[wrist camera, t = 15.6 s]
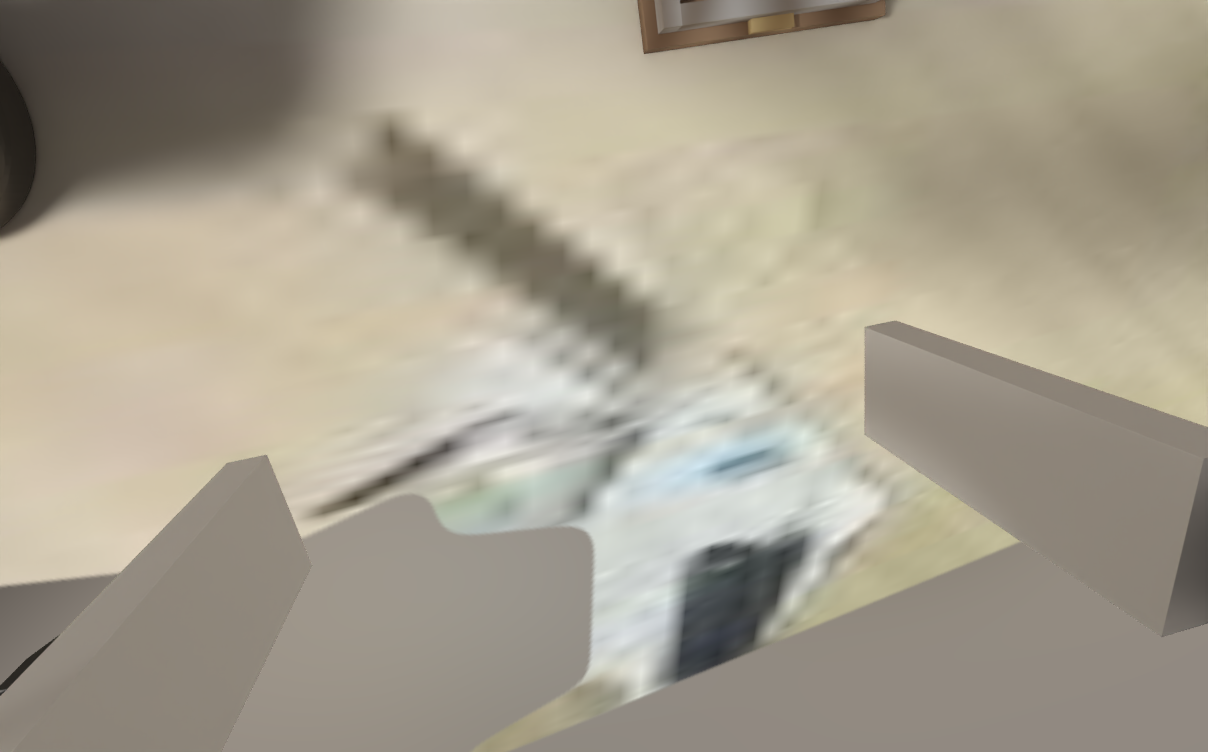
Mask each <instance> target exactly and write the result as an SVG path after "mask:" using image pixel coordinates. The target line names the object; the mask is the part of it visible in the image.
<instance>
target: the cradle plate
mask: <svg viewBox="0 0 1208 752" xmlns="http://www.w3.org/2000/svg"><path fill="white" fill-rule="evenodd" d="M638 8H639V17H640V25H641V33H642V42H643V50H644V54H646V53H653V52H659V51H666V50H673V49H680V48H686V47H693V46H700V45H707V44H713V43H720V42H727V41H734V40H740V39H747V38H754V37H761V36H767V35H774V34H781V33H788V32H794V31H801V30H808V29H815V28H821V27H828V26H835V25H842V24H848V23H855V22H862V21H869V20H875V19H877V18H879V17H881V16H883V15H885V0H638Z"/></svg>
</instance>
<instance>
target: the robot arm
mask: <svg viewBox="0 0 1208 752" xmlns="http://www.w3.org/2000/svg"><path fill="white" fill-rule="evenodd" d="M34 169H35V140H34V134H33V128H32V125H31V121H30V117H29V114H28V111H27V108H26V106H25V103H24V101H23V99H22V96H21V94H20V92H19V90H18V88H17V86H16V85H15V83H14V81H13V79H12V78H11V76H10V75H9V73H8V72H7V70H6V68H5V67H4V66H3V64H2V63H1V62H0V228H1V227H2V226H3V225H5V224H6V223H7V222H8V221H9V220H10V219H11V218H12V217H13V216H14V215H15V214H16V212H17V211H18V210H19V208H20V207H21V205H22V204H23V202H24V200H25V198H26V196H27V194H28V192H29V189H30V186H31V183H32V179H33V175H34ZM865 435H866V436H867V437H869V438H870V439H872V440H873V441H874V442H876V443H877V444H879V445H880V446H882V447H883V448H885V449H886V450H888V451H889V452H891V453H892V454H894V455H895V456H896V457H898V458H899V459H901V460H902V461H904V462H905V463H907V464H908V465H910V466H911V467H913V468H914V469H916V470H917V471H918V472H920V473H921V474H923V475H924V476H926V477H927V478H929V479H930V480H932V481H933V482H935V483H936V484H938V485H939V486H940V487H942V488H943V489H945V490H946V491H948V492H949V493H951V494H952V495H954V496H955V497H957V498H958V499H960V500H961V501H962V502H964V503H965V504H967V505H968V506H970V507H971V508H973V509H974V510H976V511H977V512H979V513H980V514H981V515H983V516H984V517H986V518H987V519H989V520H990V521H992V522H993V523H995V524H996V525H998V526H999V527H1001V528H1002V529H1003V530H1005V531H1006V532H1008V533H1009V534H1011V535H1012V536H1014V537H1015V538H1017V539H1018V540H1020V541H1021V542H1023V543H1024V544H1025V545H1027V546H1028V547H1030V548H1031V549H1033V550H1034V551H1036V552H1037V553H1039V554H1040V555H1042V556H1043V557H1045V558H1046V559H1048V560H1049V561H1051V562H1052V563H1053V564H1055V565H1056V566H1058V567H1059V568H1061V569H1062V570H1064V571H1065V572H1066V573H1068V574H1069V575H1071V576H1073V577H1074V578H1075V579H1077V580H1078V581H1080V582H1081V583H1083V584H1084V585H1086V586H1087V587H1088V588H1090V589H1091V590H1093V591H1094V592H1096V593H1097V594H1099V595H1100V596H1102V597H1103V598H1105V599H1106V600H1108V601H1109V602H1110V603H1112V604H1113V605H1115V606H1116V607H1118V608H1119V609H1121V610H1122V611H1124V612H1125V613H1127V614H1128V615H1130V616H1131V617H1133V618H1134V619H1135V620H1137V621H1138V622H1140V623H1141V624H1143V625H1144V626H1146V627H1147V628H1149V629H1150V630H1152V631H1153V632H1154V633H1156V634H1157V635H1159V636H1160V637H1164V636H1167V635H1171V634H1174V633H1177V632H1181V631H1184V630H1187V629H1190V628H1194V627H1197V626H1201V625H1204V624H1207V623H1208V427H1205V426H1202V425H1199V424H1197V423H1194V422H1191V421H1188V420H1185V419H1182V418H1179V417H1176V416H1173V415H1170V414H1167V413H1164V412H1161V411H1159V410H1156V409H1153V408H1150V407H1147V406H1144V405H1141V404H1138V403H1135V402H1132V401H1129V400H1126V399H1123V398H1121V397H1118V396H1115V395H1112V394H1109V393H1106V392H1103V391H1100V390H1097V389H1094V388H1091V387H1088V386H1085V385H1082V384H1080V383H1077V382H1074V381H1071V380H1068V379H1065V378H1062V377H1059V376H1056V375H1053V374H1050V373H1047V372H1044V371H1042V370H1039V369H1036V368H1033V367H1030V366H1027V365H1024V364H1021V363H1018V362H1015V361H1012V360H1009V359H1006V358H1004V357H1001V356H998V355H995V354H992V353H989V352H986V351H983V350H980V349H977V348H974V347H971V346H968V345H966V344H963V343H960V342H957V341H954V340H951V339H948V338H945V337H942V336H939V335H936V334H933V333H930V332H927V331H925V330H922V329H919V328H916V327H913V326H910V325H907V324H904V323H901V322H898V321H891V322H886V323H882V324H877V325H872V326H868V327H865ZM311 567H312V563H311V561H310V559H309V556H308V554H307V551H306V549H305V547H304V544H303V542H302V539H301V537H300V534H299V532H298V529H297V527H296V525H295V522H294V520H293V517H292V515H291V512H290V510H289V508H288V505H287V503H286V500H285V498H284V495H283V493H282V491H281V488H280V486H279V483H278V481H277V478H276V476H275V473H274V471H273V469H272V466H271V464H270V461H269V459H268V456H267V455H263V456H258V457H254V458H249V459H244V460H240V461H235V462H230V463H227V464H226V465H225V466H224V467H223V468H222V469H221V470H220V471H219V472H218V473H217V474H216V475H215V476H214V477H213V478H212V479H211V480H210V481H209V482H208V483H207V484H206V485H205V486H204V487H203V488H202V489H201V490H200V491H199V493H198V494H197V495H196V496H195V497H194V498H193V499H192V500H191V501H190V502H189V503H188V504H187V505H186V506H185V507H184V508H183V509H182V510H181V511H180V512H179V513H178V514H177V515H176V516H175V517H174V518H173V519H172V520H171V521H170V522H169V523H168V524H167V525H166V526H165V527H164V528H163V530H162V531H161V532H160V533H159V534H158V535H157V536H156V537H155V538H154V539H153V540H152V541H151V542H150V543H149V544H148V545H147V546H146V547H145V548H144V549H143V550H142V551H141V552H140V553H139V554H138V555H137V556H136V557H135V558H134V559H133V560H132V561H131V562H130V563H129V564H128V565H127V567H126V568H125V569H124V570H123V571H122V572H121V573H120V574H119V575H118V576H117V577H116V578H115V579H114V580H113V581H112V582H111V583H110V584H109V585H108V586H107V587H106V588H105V589H104V590H103V591H102V592H101V593H100V594H99V595H98V596H97V597H96V598H95V599H94V600H93V601H92V603H91V604H90V605H89V606H88V607H87V608H86V609H85V610H84V611H83V612H82V613H81V614H80V615H79V616H78V617H77V618H76V619H75V620H74V621H73V622H72V623H71V624H70V625H69V626H68V627H67V628H66V629H65V630H64V631H63V632H62V633H61V634H60V635H59V636H57V637H56V638H55V639H53V640H52V641H51V642H49V643H48V644H46V645H45V646H44V647H42V648H41V649H40V650H38V651H37V652H35V653H34V654H33V655H31V656H30V657H29V658H28V659H26V660H25V661H24V662H23V663H22V664H21V665H20V666H19V667H18V668H17V669H16V670H15V671H14V672H13V673H12V674H11V675H10V676H9V677H8V678H7V679H6V680H5V681H4V682H3V683H2V684H1V685H0V752H222V750H223V748H224V745H225V743H226V741H227V739H228V737H229V735H230V733H231V731H232V729H233V727H234V725H235V723H236V721H237V719H238V717H239V715H240V713H241V710H242V709H243V707H244V705H245V702H246V700H247V698H248V696H249V694H250V692H251V690H252V688H253V686H254V684H255V682H256V680H257V678H258V676H259V674H260V672H261V670H262V668H263V665H264V663H265V661H266V659H267V657H268V655H269V653H270V651H271V649H272V647H273V645H274V643H275V641H276V639H277V637H278V635H279V633H280V631H281V629H282V626H283V624H284V622H285V620H286V618H287V616H288V614H289V612H290V610H291V608H292V606H293V604H294V602H295V600H296V598H297V596H298V594H299V592H300V590H301V588H302V585H303V584H304V581H305V579H306V577H307V575H308V573H309V571H310V569H311Z"/></svg>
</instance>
